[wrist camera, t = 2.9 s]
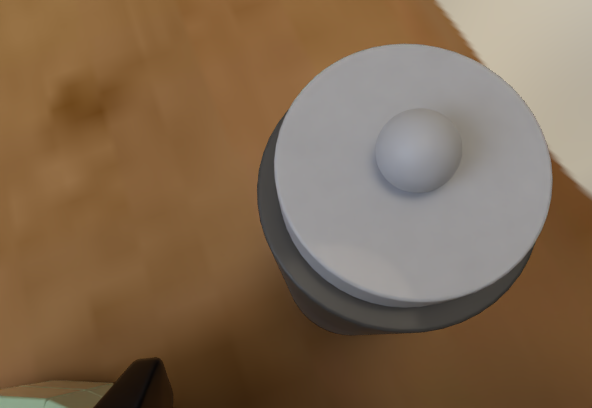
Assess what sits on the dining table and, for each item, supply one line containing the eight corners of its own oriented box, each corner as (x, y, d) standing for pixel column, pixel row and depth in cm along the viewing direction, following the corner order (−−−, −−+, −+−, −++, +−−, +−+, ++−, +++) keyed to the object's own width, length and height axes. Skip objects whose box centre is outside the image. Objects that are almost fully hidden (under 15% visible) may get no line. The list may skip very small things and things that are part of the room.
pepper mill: (363, 363, 17) (490, 428, 5) (261, 280, 18) (159, 164, 6) (438, 259, 18) (696, 101, 6) (337, 185, 19) (383, -78, 7)
